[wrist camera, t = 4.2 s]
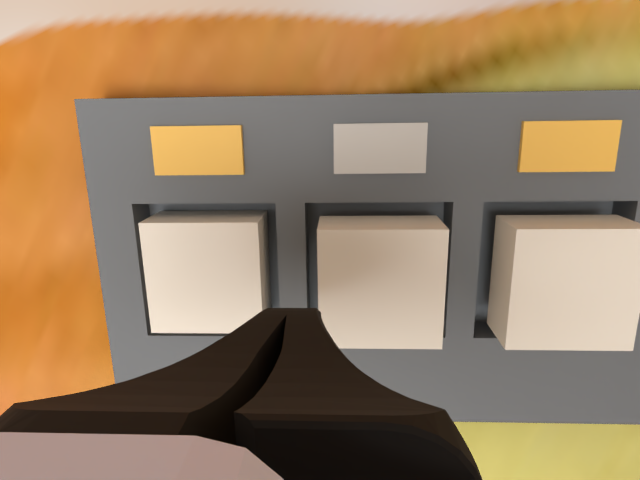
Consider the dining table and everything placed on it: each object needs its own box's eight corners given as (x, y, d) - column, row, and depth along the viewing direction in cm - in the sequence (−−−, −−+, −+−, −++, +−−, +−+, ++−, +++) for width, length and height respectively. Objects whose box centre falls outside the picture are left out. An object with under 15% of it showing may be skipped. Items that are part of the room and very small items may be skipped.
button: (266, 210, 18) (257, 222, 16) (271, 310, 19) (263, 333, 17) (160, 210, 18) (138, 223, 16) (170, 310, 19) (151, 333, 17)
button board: (664, 90, 17) (711, 88, 14) (613, 393, 20) (645, 428, 18) (103, 100, 17) (71, 98, 15) (140, 387, 21) (118, 419, 19)
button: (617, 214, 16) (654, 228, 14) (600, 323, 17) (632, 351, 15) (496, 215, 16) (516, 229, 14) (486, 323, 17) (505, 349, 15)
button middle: (436, 215, 16) (449, 229, 14) (431, 322, 17) (442, 349, 15) (320, 216, 16) (316, 229, 14) (321, 322, 17) (319, 348, 16)
